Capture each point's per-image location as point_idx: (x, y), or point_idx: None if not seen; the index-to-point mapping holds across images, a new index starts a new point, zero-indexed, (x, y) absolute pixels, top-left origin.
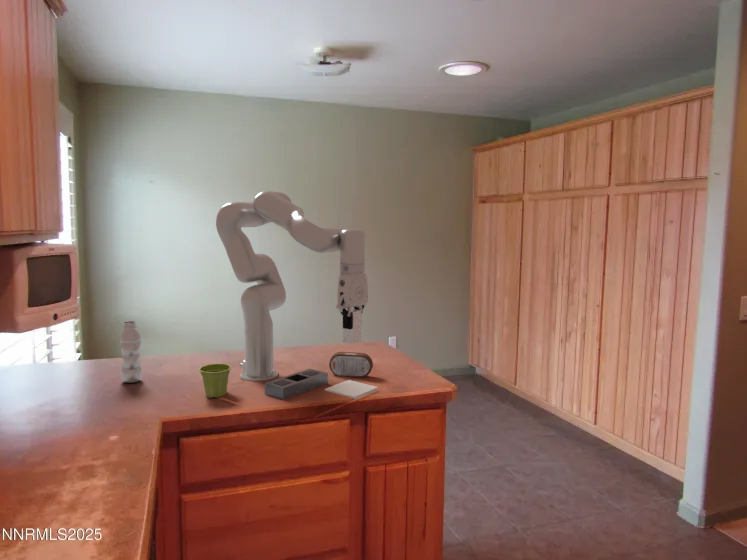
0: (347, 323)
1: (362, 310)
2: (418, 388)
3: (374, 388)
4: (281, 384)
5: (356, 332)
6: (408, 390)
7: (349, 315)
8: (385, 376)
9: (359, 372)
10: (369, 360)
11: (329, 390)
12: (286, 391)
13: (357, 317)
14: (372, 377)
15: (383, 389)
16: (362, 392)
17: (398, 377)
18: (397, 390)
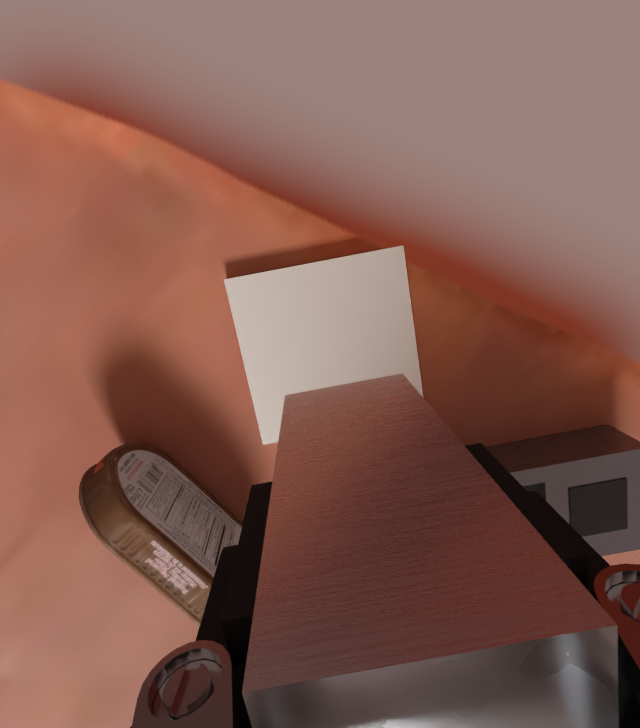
0: (549, 508)
1: (134, 726)
2: (42, 160)
3: (251, 274)
4: (621, 489)
5: (367, 418)
6: (107, 173)
7: (627, 589)
8: (65, 404)
9: (171, 477)
10: (109, 472)
11: (421, 387)
12: (614, 442)
13: (381, 536)
14: (127, 430)
15: (198, 268)
16: (334, 267)
17: (19, 354)
18: (152, 212)
